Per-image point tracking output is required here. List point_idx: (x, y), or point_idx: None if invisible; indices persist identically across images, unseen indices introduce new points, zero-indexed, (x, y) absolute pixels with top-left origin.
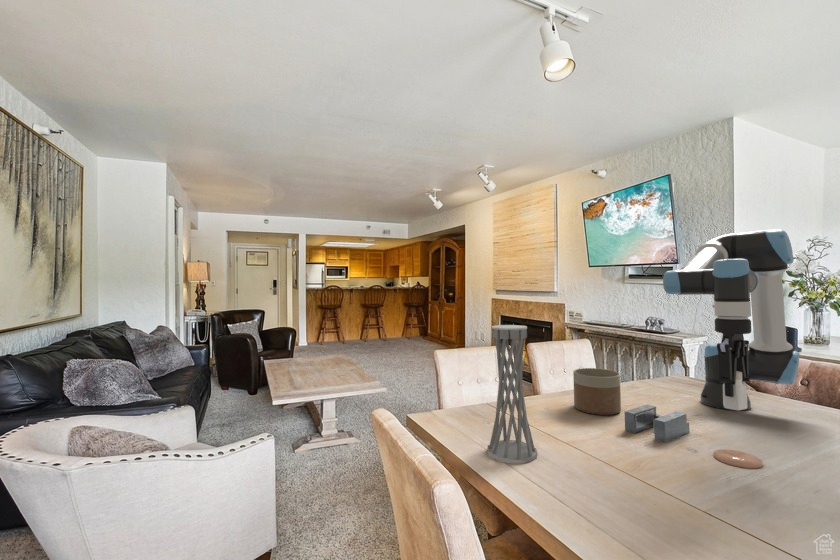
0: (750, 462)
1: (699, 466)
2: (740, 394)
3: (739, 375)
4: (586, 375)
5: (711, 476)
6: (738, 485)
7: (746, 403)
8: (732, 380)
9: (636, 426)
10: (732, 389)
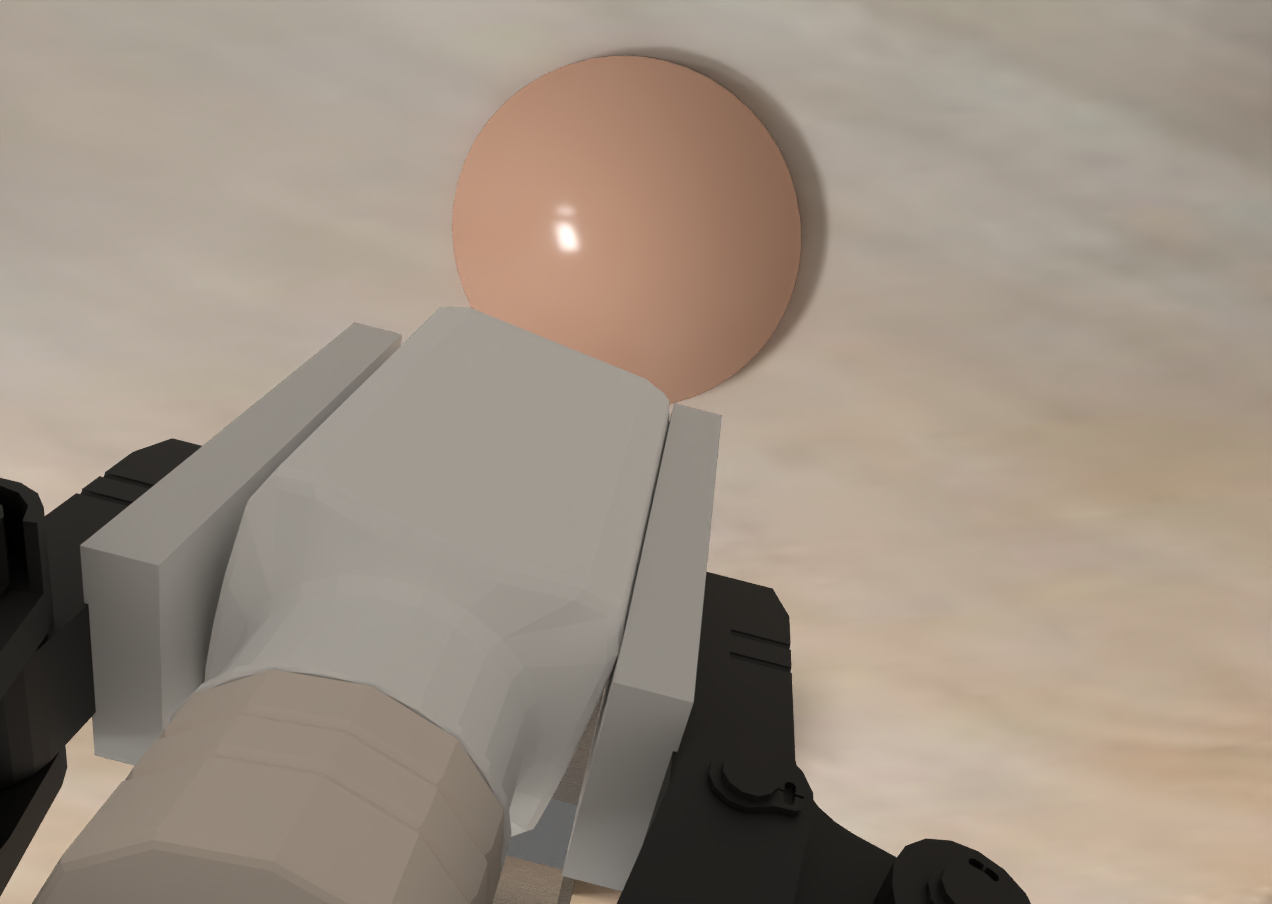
0: (679, 145)
1: (984, 452)
2: (613, 497)
3: (374, 823)
4: None
5: (1155, 363)
6: (1244, 181)
7: (475, 339)
8: (941, 889)
9: (560, 882)
10: (734, 679)
